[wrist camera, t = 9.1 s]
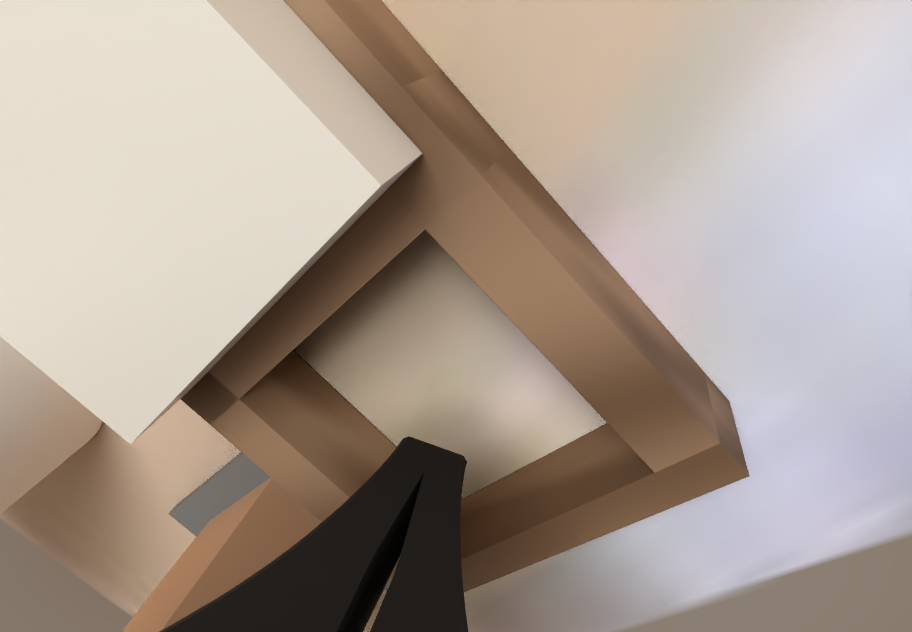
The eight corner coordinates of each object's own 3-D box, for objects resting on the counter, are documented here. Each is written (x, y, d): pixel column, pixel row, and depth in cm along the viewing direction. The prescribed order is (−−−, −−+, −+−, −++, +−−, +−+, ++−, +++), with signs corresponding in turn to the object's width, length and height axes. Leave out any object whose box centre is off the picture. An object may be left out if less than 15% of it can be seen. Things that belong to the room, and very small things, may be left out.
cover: (422, 152, 10) (381, 185, 8) (188, 391, 14) (130, 444, 13) (-16, -329, 8) (-187, -416, 6) (-127, 116, 13) (-244, 134, 11)
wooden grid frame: (729, 400, 13) (749, 476, 11) (445, 539, 18) (422, 608, 16) (129, -289, 10) (-4, -368, 8) (-23, 112, 15) (-128, 131, 13)
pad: (425, 562, 19) (422, 572, 19) (310, 616, 23) (306, 625, 22) (272, 426, 18) (266, 434, 18) (175, 505, 21) (168, 513, 21)
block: (371, 560, 19) (283, 759, 14) (298, 595, 22) (199, 779, 16) (275, 474, 18) (143, 654, 13) (208, 521, 21) (74, 691, 16)
